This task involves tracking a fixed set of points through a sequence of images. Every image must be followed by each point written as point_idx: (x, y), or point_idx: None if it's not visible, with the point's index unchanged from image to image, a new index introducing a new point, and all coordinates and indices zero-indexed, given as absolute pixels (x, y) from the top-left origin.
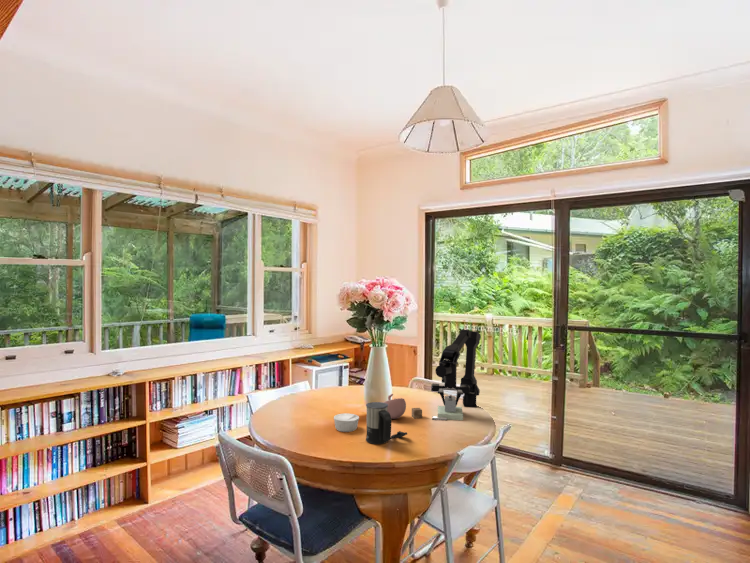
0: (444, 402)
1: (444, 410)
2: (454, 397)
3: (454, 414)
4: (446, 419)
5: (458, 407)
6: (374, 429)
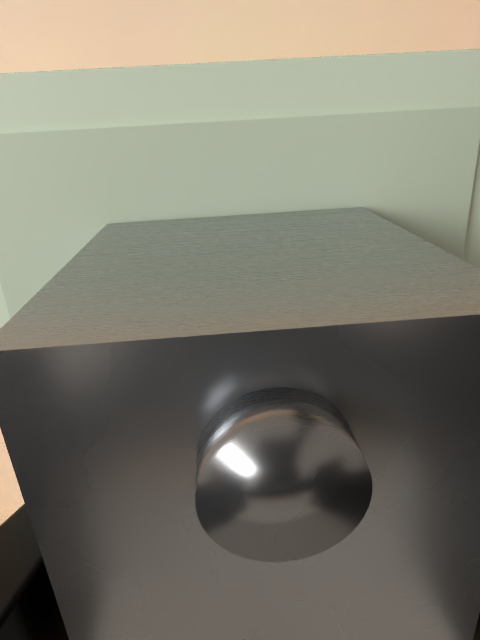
0: None
1: None
2: (466, 497)
3: None
4: None
5: (444, 154)
6: None
